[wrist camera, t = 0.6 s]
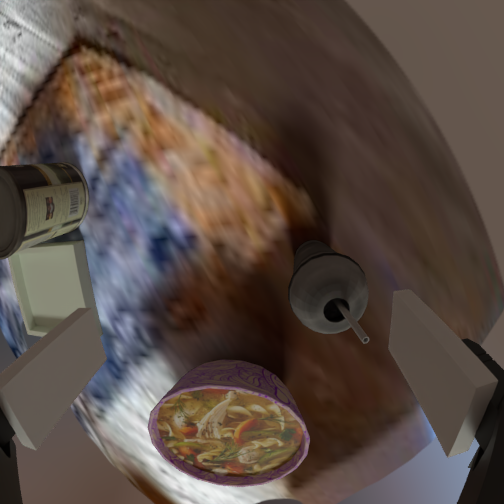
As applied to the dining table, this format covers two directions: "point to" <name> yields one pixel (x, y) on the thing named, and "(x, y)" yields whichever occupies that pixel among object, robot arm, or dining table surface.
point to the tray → (52, 284)
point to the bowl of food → (230, 425)
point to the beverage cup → (327, 290)
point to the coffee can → (39, 204)
